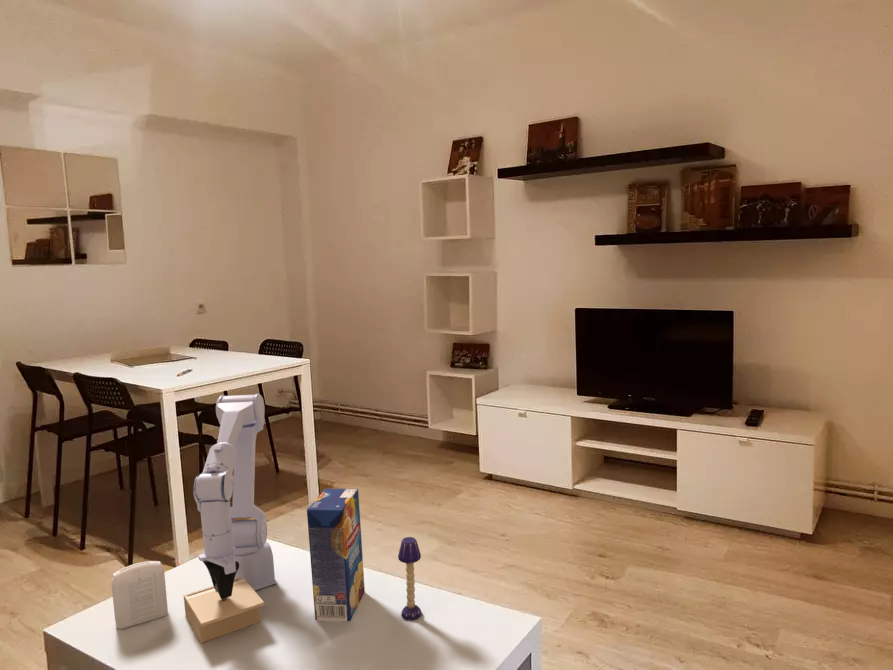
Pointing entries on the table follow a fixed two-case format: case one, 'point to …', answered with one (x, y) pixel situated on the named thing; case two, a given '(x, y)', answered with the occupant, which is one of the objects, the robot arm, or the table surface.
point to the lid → (223, 603)
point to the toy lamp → (410, 576)
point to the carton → (220, 621)
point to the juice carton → (336, 554)
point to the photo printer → (139, 593)
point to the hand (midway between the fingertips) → (223, 593)
